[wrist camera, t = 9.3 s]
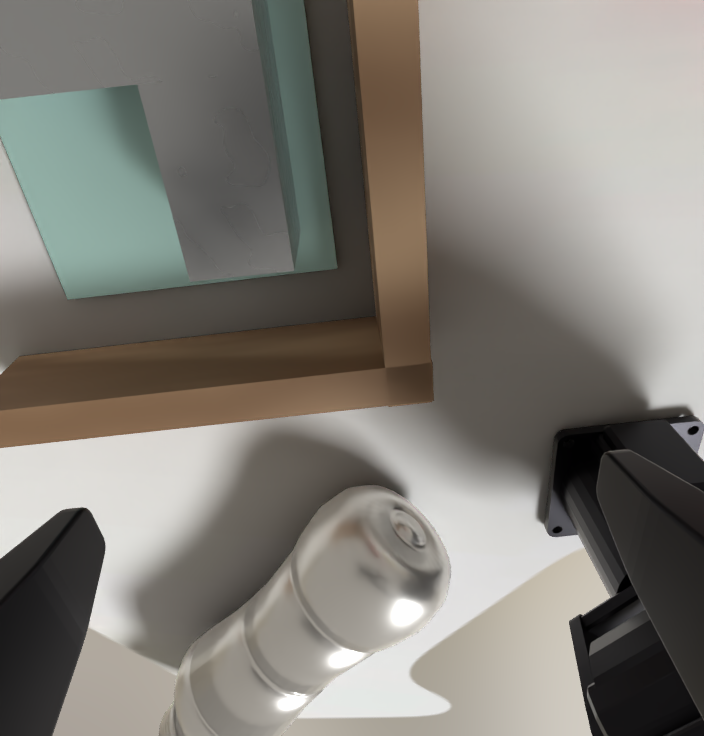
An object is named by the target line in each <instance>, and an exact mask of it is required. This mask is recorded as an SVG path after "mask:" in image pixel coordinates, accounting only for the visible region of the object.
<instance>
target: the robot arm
mask: <svg viewBox="0 0 704 736" xmlns="http://www.w3.org/2000/svg"><path fill="white" fill-rule="evenodd" d="M690 427H691V428H690ZM689 428H690V429H689ZM703 433H704V424H703V423H702V422H701V421H700V420H699V419H698V418H697V417H695V416H686V417H677V418H667V419H658V420H649V421H639V422H630V423H621V424H611V425H602V426H593V427H583V428H574V429H566V430H562V431H560V432H559V433H557V435H556V436H555V438H554V445H553V454H552V463H551V472H550V481H549V490H548V499H547V508H546V517H545V529H546V531H547V533H548V534H549V535H550V536H552V537H561V536H570V535H579V537H580V539H581V541H582V543H583V545H584V547H585V549H586V551H587V553H588V555H589V557H590V559H591V560H592V562H593V564H594V566H595V568H596V570H597V572H598V574H599V576H600V578H601V580H602V582H603V584H604V586H605V587H606V589H607V591H608V593H609V595H610V597H611V598H609V599H608V600H606V601H605V602H603V603H601V604H600V605H598V606H597V607H595V608H594V609H592V610H590V611H589V612H588V613H586V614H584V615H581V614H580V615H578V616H576V617H575V618H573V619H572V620H570V621H569V625H570V630H571V635H572V640H573V645H574V651H575V656H576V661H577V666H578V671H579V676H580V681H581V687H582V692H583V697H584V702H585V707H586V711H587V715H588V720H589V724H590V729H591V733H592V735H593V736H704V461H703V459H702V458H701V457H700V456H699V455H698V454H697V453H698V450H699V446H700V443H701V440H702V436H703ZM568 439H570V440H569V441H568V442H565V443H564V441H566V440H568ZM104 555H105V541H104V537H103V535H102V533H101V531H100V529H99V527H98V525H97V523H96V521H95V519H94V517H93V515H92V513H91V512H90V511H89V510H88V509H87V508H83V507H82V508H72V509H65V510H62V511H60V512H59V513H57V514H56V515H55V516H53V517H52V518H51V519H50V520H48V521H47V522H46V523H45V524H43V525H42V526H41V527H40V528H38V529H37V530H36V531H35V532H33V533H32V534H31V535H30V536H28V537H27V538H26V539H25V540H23V541H22V542H21V543H20V544H18V545H17V546H16V547H15V548H13V549H12V550H11V551H10V552H8V553H7V554H6V555H5V556H3V557H2V558H1V559H0V736H52V735H53V732H54V729H55V726H56V723H57V720H58V717H59V714H60V711H61V708H62V705H63V702H64V699H65V696H66V694H67V691H68V688H69V685H70V682H71V679H72V676H73V673H74V670H75V667H76V664H77V661H78V658H79V655H80V652H81V649H82V646H83V643H84V640H85V636H86V632H87V629H88V625H89V621H90V616H91V612H92V608H93V603H94V599H95V594H96V590H97V586H98V581H99V577H100V572H101V568H102V564H103V559H104Z"/></svg>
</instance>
